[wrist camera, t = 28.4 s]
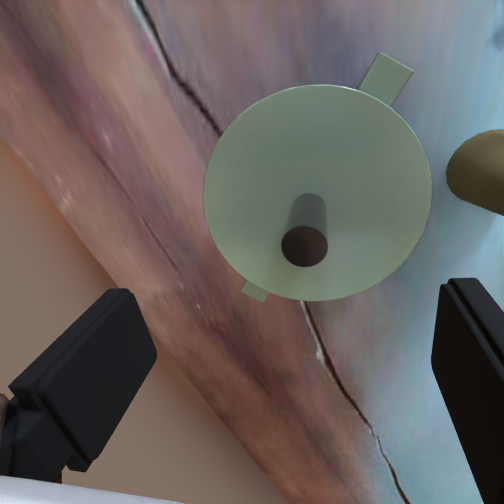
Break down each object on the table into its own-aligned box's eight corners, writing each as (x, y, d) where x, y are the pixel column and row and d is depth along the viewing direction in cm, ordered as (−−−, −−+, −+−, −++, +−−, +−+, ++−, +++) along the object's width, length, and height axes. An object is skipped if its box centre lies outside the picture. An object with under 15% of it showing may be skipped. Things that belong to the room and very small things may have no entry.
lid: (180, 238, 27) (137, 283, 21) (262, 35, 19) (232, 7, 13) (341, 323, 28) (347, 391, 22) (484, 160, 20) (559, 192, 14)
